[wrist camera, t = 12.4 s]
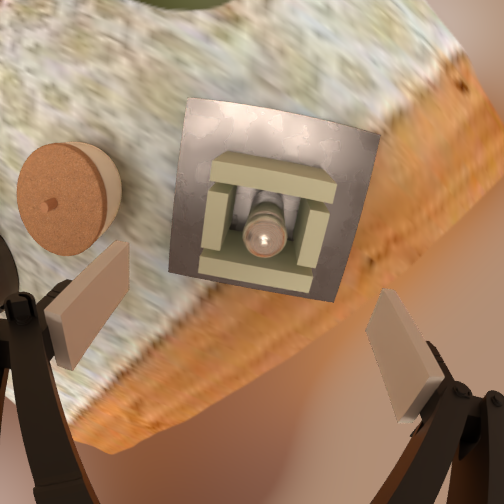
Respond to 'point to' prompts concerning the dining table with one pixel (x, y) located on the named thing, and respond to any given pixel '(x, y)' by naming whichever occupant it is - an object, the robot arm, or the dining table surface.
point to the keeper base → (275, 145)
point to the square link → (231, 242)
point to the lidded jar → (68, 196)
